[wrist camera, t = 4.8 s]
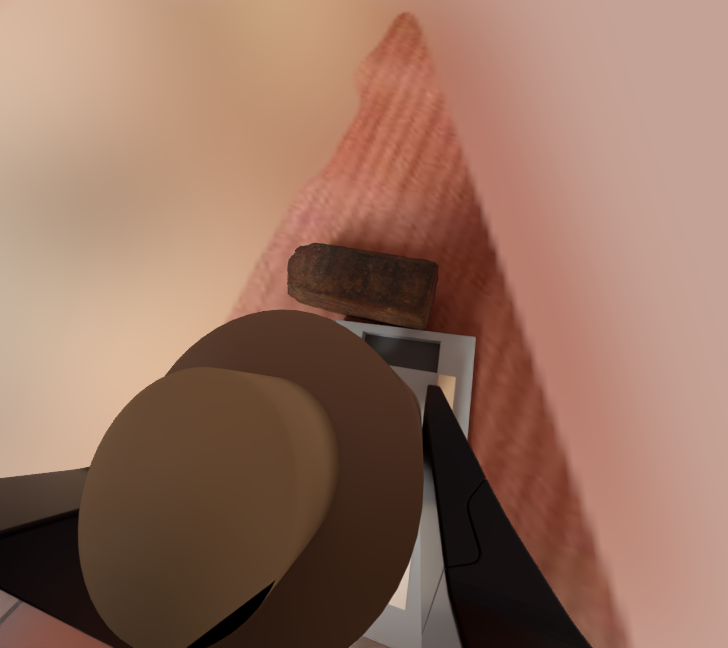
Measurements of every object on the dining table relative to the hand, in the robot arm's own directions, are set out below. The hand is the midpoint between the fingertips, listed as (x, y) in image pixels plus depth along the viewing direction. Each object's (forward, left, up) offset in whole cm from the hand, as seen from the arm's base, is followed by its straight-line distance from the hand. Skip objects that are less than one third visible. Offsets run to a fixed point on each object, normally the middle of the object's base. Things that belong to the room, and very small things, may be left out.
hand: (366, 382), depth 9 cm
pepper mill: (-1, 0, -7) cm, 7 cm away
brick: (+7, +3, -11) cm, 13 cm away
